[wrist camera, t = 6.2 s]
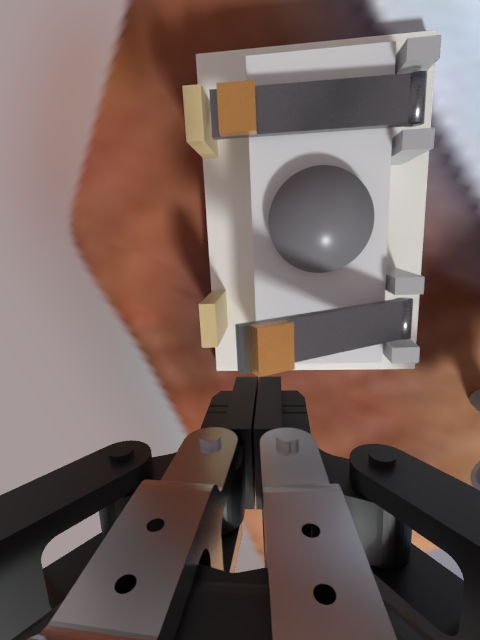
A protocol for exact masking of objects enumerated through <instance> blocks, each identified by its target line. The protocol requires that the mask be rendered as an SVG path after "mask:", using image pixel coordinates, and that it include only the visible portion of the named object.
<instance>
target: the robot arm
mask: <svg viewBox="0 0 480 640" xmlns="http://www.w3.org/2000/svg"><path fill="white" fill-rule="evenodd" d="M255 492H256V503H257V509H262V516H263V542H264V561H265V568H261V569H257V570H251V571H246V572H240V573H235V568H236V563H237V558H238V553H239V548H240V543H241V538H242V521H243V518H244V511H245V509H254V505H255ZM98 511H99V516H100V521H101V529H102V532H101V533H100V534H98V535H96V536H95V537H93V538H92V539H90V540H88V541H87V542H85V543H84V544H82V545H80V546H79V547H77V548H76V549H74V550H73V551H71V552H69V553H68V554H66V555H65V556H63V557H61V558H60V559H58V560H56V561H55V562H53V563H52V564H50V565H49V566H47V567H45V568H43V569H42V564H41V556H42V552H43V550H44V548H45V546H46V545H47V544H48V543H49V542H50V541H51V539H53V538H54V537H55V536H57V535H58V534H60V533H62V532H64V531H65V530H67V529H69V528H70V527H72V526H74V525H76V524H77V523H79V522H81V521H82V520H84V519H86V518H88V517H89V516H91V515H93V514H95V513H96V512H98ZM412 529H413V530H414V531H416V532H417V533H419V534H420V535H422V536H423V537H425V538H426V539H428V540H429V541H430V542H432V543H433V544H435V545H436V546H438V547H439V548H441V549H442V550H444V551H445V552H446V553H448V554H449V555H450V556H451V557H452V558H453V559H454V560H455V562H456V563H457V564H458V566H459V568H460V569H461V572H462V574H463V578H464V581H463V580H462V579H461V578H459V577H458V576H457V575H455V574H454V573H452V572H451V571H450V570H448V569H447V568H445V567H444V566H443V565H441V564H440V563H438V562H437V561H436V560H434V559H433V558H431V557H430V556H429V555H427V554H426V553H425V552H423V551H422V550H420V549H419V548H418V547H416V546H415V545H413V544H412V543H411V537H412ZM0 640H480V490H478V489H476V488H474V487H472V486H470V485H468V484H466V483H464V482H462V481H460V480H458V479H456V478H454V477H452V476H450V475H448V474H446V473H444V472H443V471H441V470H439V469H437V468H435V467H433V466H431V465H429V464H427V463H425V462H423V461H421V460H419V459H417V458H415V457H413V456H411V455H409V454H407V453H405V452H403V451H401V450H399V449H397V448H394V447H391V446H387V445H381V444H366V445H361V446H359V447H357V448H355V449H354V450H353V451H352V452H351V453H350V459H346V458H342V457H337V456H333V455H331V454H328V453H326V452H324V451H322V450H320V449H319V448H318V447H317V443H316V441H315V439H314V437H313V436H312V435H311V432H310V426H309V420H308V415H307V409H306V403H305V398H304V397H303V396H302V395H301V394H300V393H299V392H298V391H281V377H259V384H258V377H236V381H235V384H234V388H233V391H220V392H219V393H218V394H216V395H215V396H214V397H213V398H212V400H211V403H210V405H209V408H208V410H207V413H206V416H205V418H204V421H203V423H202V426H201V429H199V430H196V431H194V432H192V433H190V434H189V435H188V436H187V437H186V438H185V439H184V441H183V443H182V444H181V446H180V448H179V449H178V452H176V453H173V454H168V455H163V456H158V457H152V455H151V449H150V447H149V446H148V445H147V444H145V443H143V442H140V441H123V442H118V443H115V444H112V445H109V446H107V447H105V448H103V449H100V450H98V451H96V452H94V453H92V454H89V455H87V456H85V457H83V458H81V459H79V460H76V461H74V462H72V463H70V464H68V465H66V466H63V467H61V468H59V469H57V470H55V471H53V472H50V473H48V474H46V475H44V476H42V477H39V478H37V479H35V480H33V481H31V482H29V483H26V484H24V485H22V486H20V487H18V488H16V489H14V490H11V491H9V492H7V493H5V494H3V495H0Z"/></svg>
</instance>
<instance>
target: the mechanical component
mask: <svg viewBox="0 0 480 640" xmlns="http://www.w3.org/2000/svg"><path fill="white" fill-rule="evenodd" d="M469 400H470V402H471V404H472V405H473V406H474V407H475V408H476V409H477V410H478V411H479V412H480V390H476V391H474V392H472V394H471V395H470V397H469ZM471 483H472V485H473V487H474V488H476V489H478V490H480V461H479V462H478V463H477V464H476V465H475V467H474V468H473V470H472V473H471Z"/></svg>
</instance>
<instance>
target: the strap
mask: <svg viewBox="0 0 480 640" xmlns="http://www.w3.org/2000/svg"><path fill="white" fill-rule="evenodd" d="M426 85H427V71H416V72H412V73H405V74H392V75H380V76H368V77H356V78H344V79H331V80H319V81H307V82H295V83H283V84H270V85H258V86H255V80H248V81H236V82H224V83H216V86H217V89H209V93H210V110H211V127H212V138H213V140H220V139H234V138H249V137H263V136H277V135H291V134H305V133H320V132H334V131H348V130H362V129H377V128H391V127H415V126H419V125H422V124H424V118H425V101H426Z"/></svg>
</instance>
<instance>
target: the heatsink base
mask: <svg viewBox="0 0 480 640" xmlns="http://www.w3.org/2000/svg"><path fill="white" fill-rule="evenodd" d="M440 46H441V35H437V30H431V31H421V32H411V33H401V34H391V35H381V36H371V37H361V38H351V39H341V40H331V41H321V42H311V43H301V44H291V45H281V46H271V47H261V48H251V49H241V50H231V51H221V52H211V53H201V54H196V66H197V81H198V84H196V85H185V86H182V88H183V101H184V114H185V128H186V141H187V143H188V144H189V145H190V146H191V147H192V148H193V149H194V150H195V151H196V152H197V153H198V154H199V155H200V156H201V157H202V158H203V171H204V186H205V201H206V216H207V231H208V246H209V261H210V276H211V291H212V292H211V293H210V294H209V295H208V296H207V297H206V298H205V299H204V300H203V301H202V302H201V303H199V314H200V327H201V340H202V348H212V347H215V352H216V367H217V371H238V367H237V348H236V329H235V324H240V323H246V322H252V321H259V320H265V319H271V318H278V317H284V316H291V315H297V314H303V313H310V312H316V311H322V310H329V309H335V308H341V307H348V306H354V305H360V304H367V303H373V302H379V301H386V300H392V299H395V298H401V297H405V298H412V299H413V311H412V328H411V338H410V339H406V340H402V339H401V340H396V341H392V342H387V343H382V344H378V345H373V346H369V347H364V348H359V349H355V350H350V351H345V352H341V353H336V354H332V355H327V356H322V357H318V358H313V359H309V360H304V361H299V362H295V369H293V370H345V369H415V363H419V354H420V347H419V346H418V345H417V344H416V341H417V325H418V310H419V295H420V294H424V280H425V277H424V276H421V265H422V249H423V234H424V219H425V204H426V188H427V173H428V158H429V150H431V149H433V148H434V134H435V128H430V127H431V112H432V97H433V82H434V67H435V62H436V61H437V60H438V59H439V58H440ZM416 71H427V85H426V101H425V118H424V124H422V125H419V126H415V127H391V128H377V129H362V130H348V131H334V132H320V133H305V134H291V135H277V136H263V137H249V138H234V139H220V140H213V138H212V127H211V110H210V93H209V89H217V86H216V83H224V82H236V81H248V80H255V86H258V85H270V84H283V83H295V82H307V81H319V80H331V79H344V78H356V77H368V76H380V75H392V74H405V73H412V72H416Z"/></svg>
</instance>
